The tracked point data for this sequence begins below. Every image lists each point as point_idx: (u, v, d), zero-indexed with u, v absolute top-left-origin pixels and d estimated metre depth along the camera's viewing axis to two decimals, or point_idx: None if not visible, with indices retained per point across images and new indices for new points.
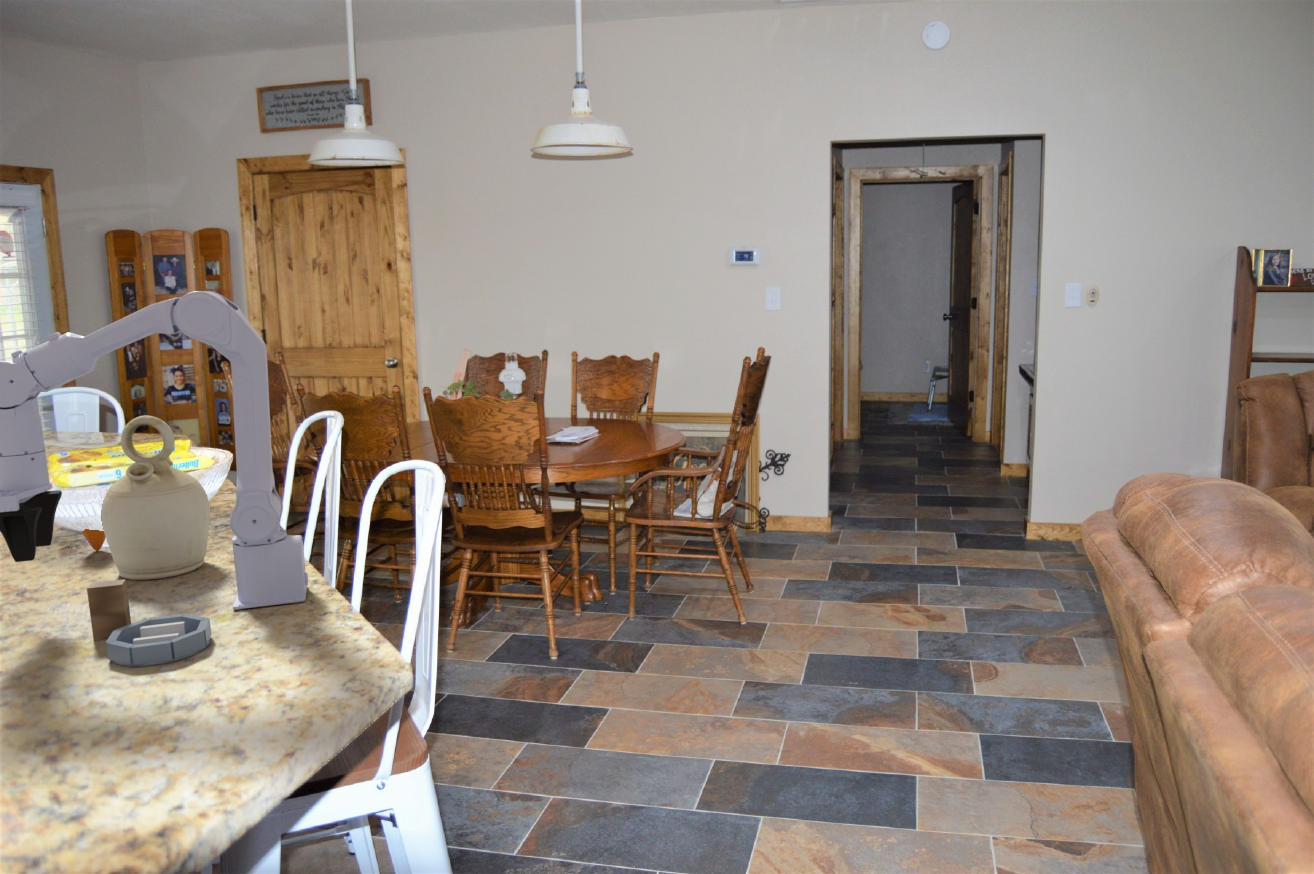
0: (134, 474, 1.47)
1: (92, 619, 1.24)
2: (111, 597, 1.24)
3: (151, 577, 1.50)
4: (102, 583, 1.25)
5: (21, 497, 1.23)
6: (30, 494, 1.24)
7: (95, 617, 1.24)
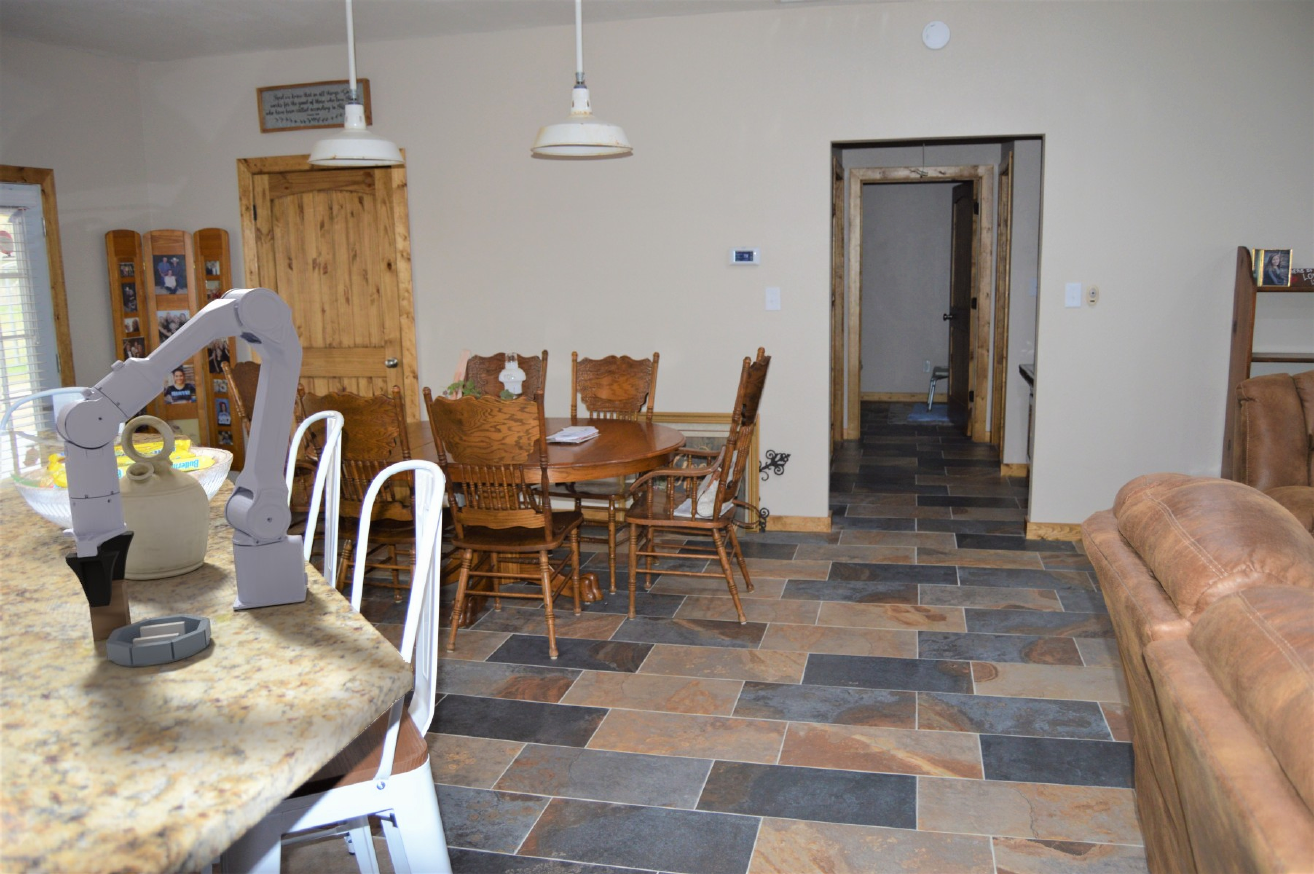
0: (134, 474, 1.47)
1: (92, 619, 1.24)
2: (111, 597, 1.24)
3: (151, 577, 1.50)
4: None
5: (99, 541, 1.19)
6: (107, 537, 1.21)
7: (95, 617, 1.24)
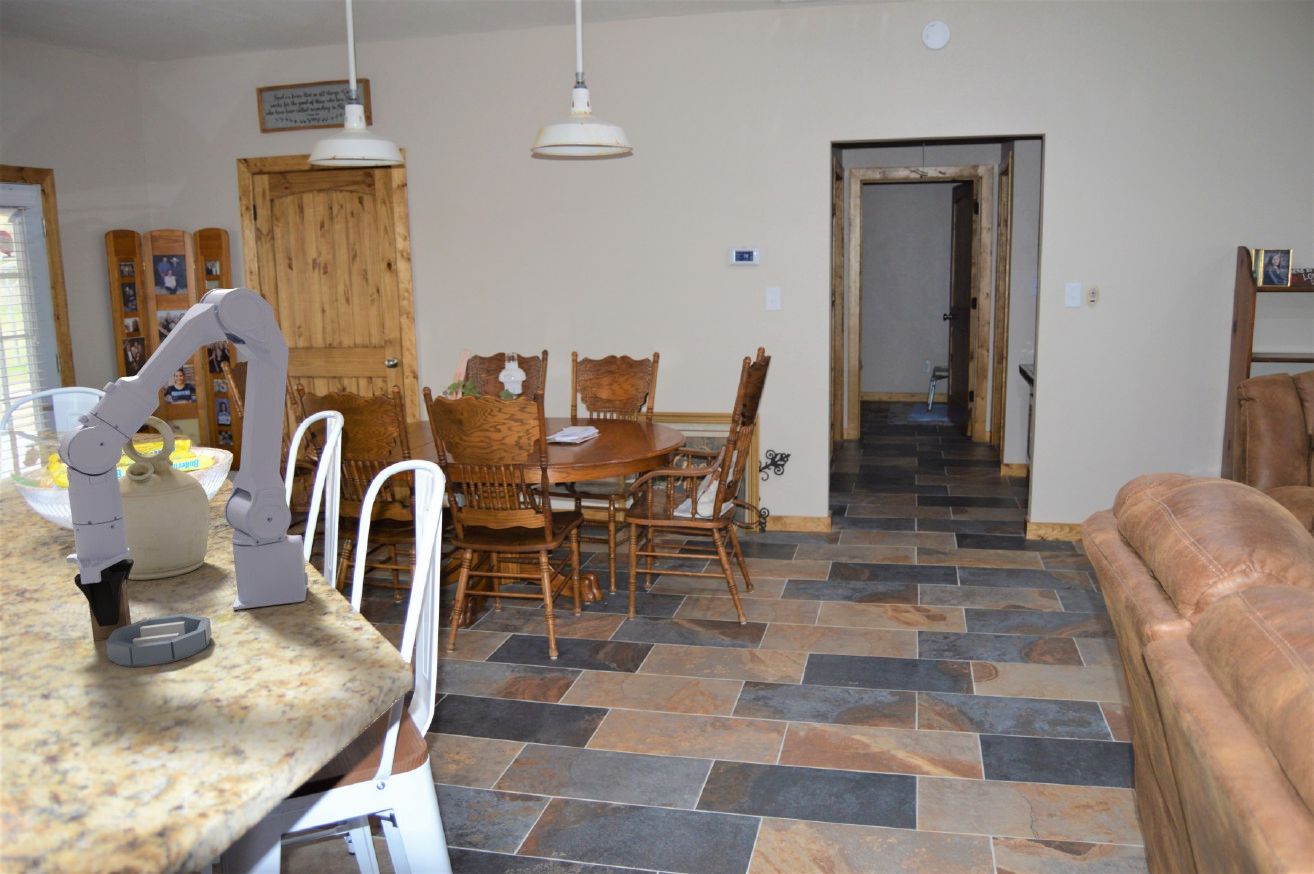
0: (134, 474, 1.47)
1: (92, 619, 1.24)
2: None
3: (151, 577, 1.50)
4: None
5: (102, 567, 1.19)
6: (111, 563, 1.21)
7: None
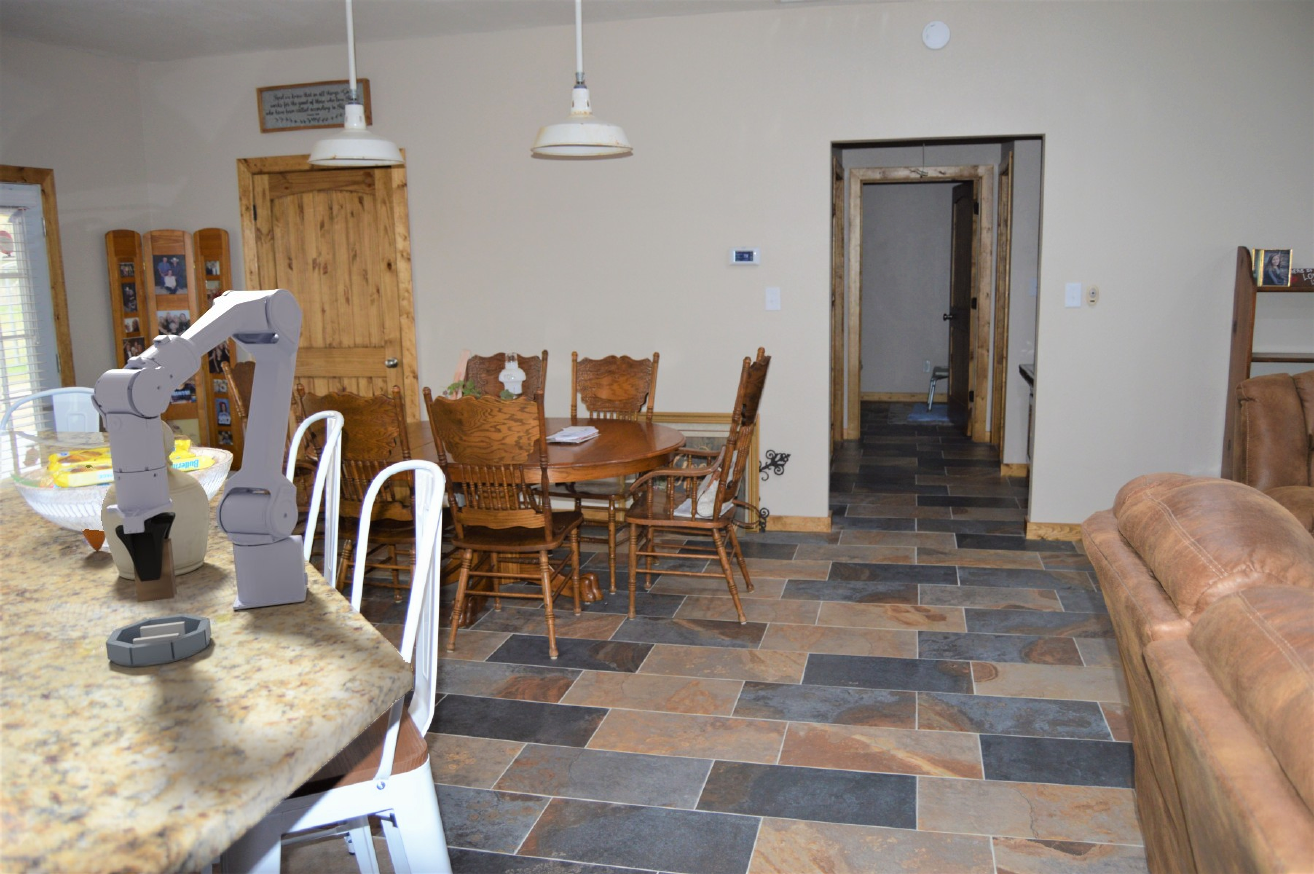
0: None
1: (136, 579, 1.18)
2: None
3: None
4: None
5: (146, 517, 1.13)
6: (154, 513, 1.15)
7: None
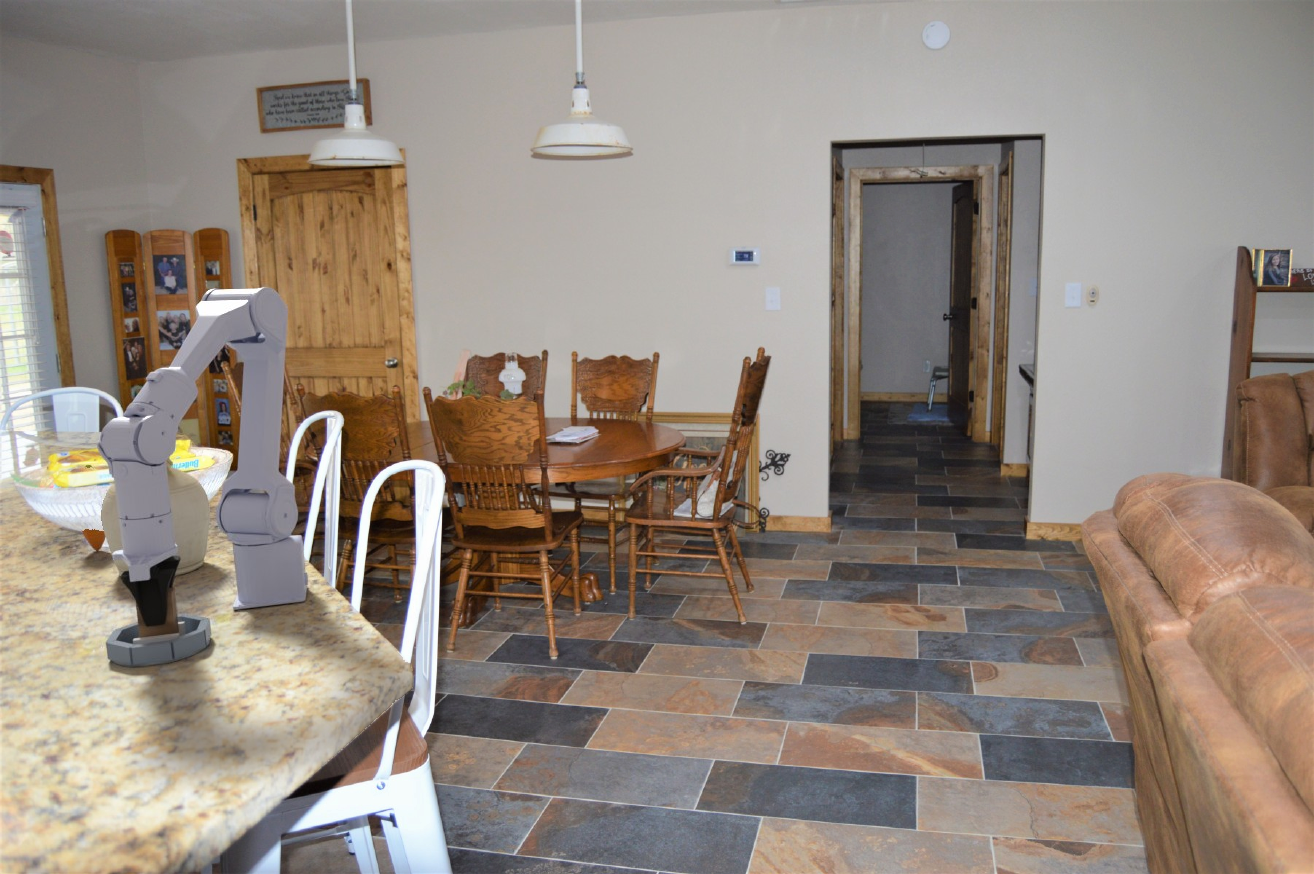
0: None
1: (140, 629, 1.19)
2: None
3: None
4: None
5: (152, 564, 1.14)
6: (159, 560, 1.15)
7: (143, 627, 1.19)
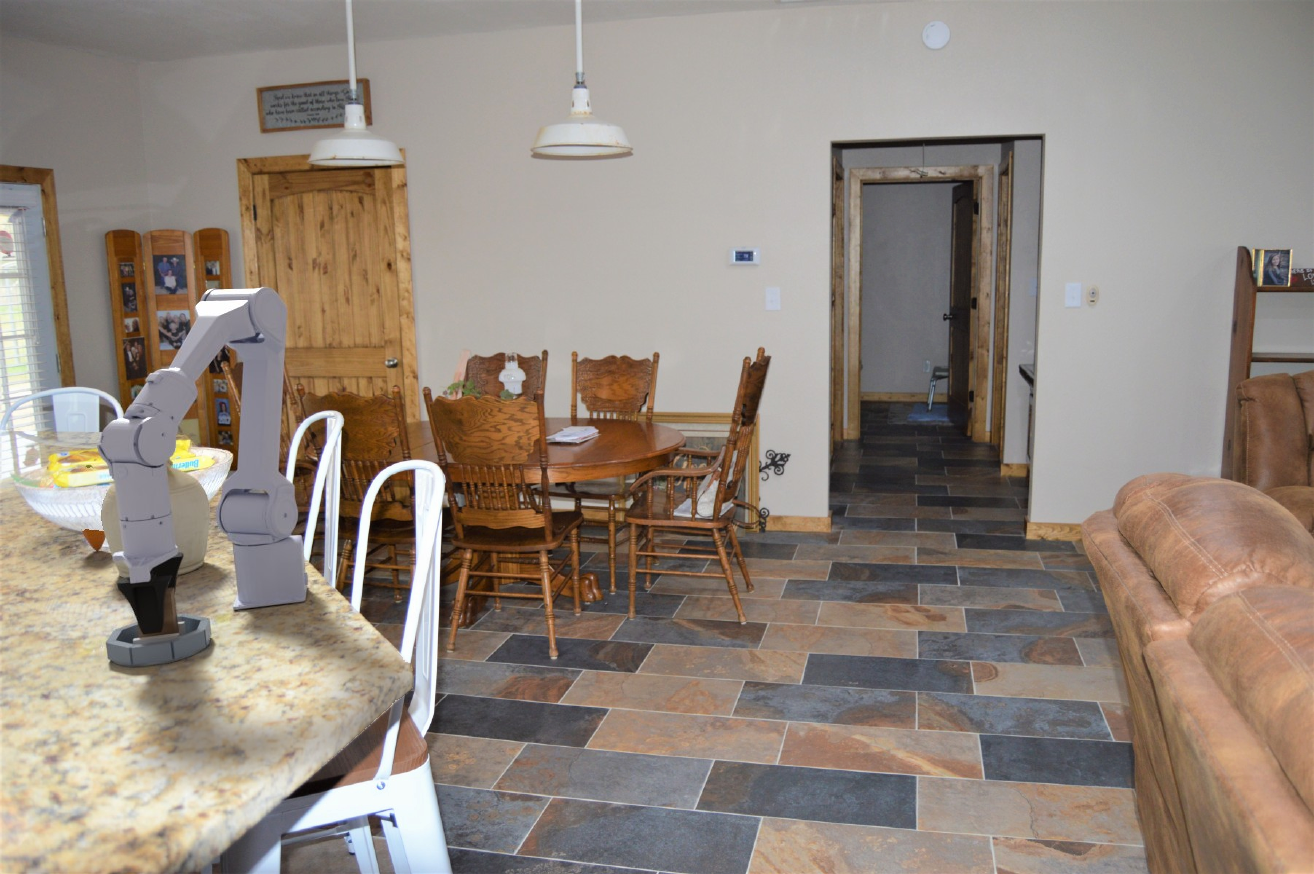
0: None
1: None
2: None
3: None
4: None
5: (152, 566, 1.14)
6: (160, 562, 1.15)
7: None
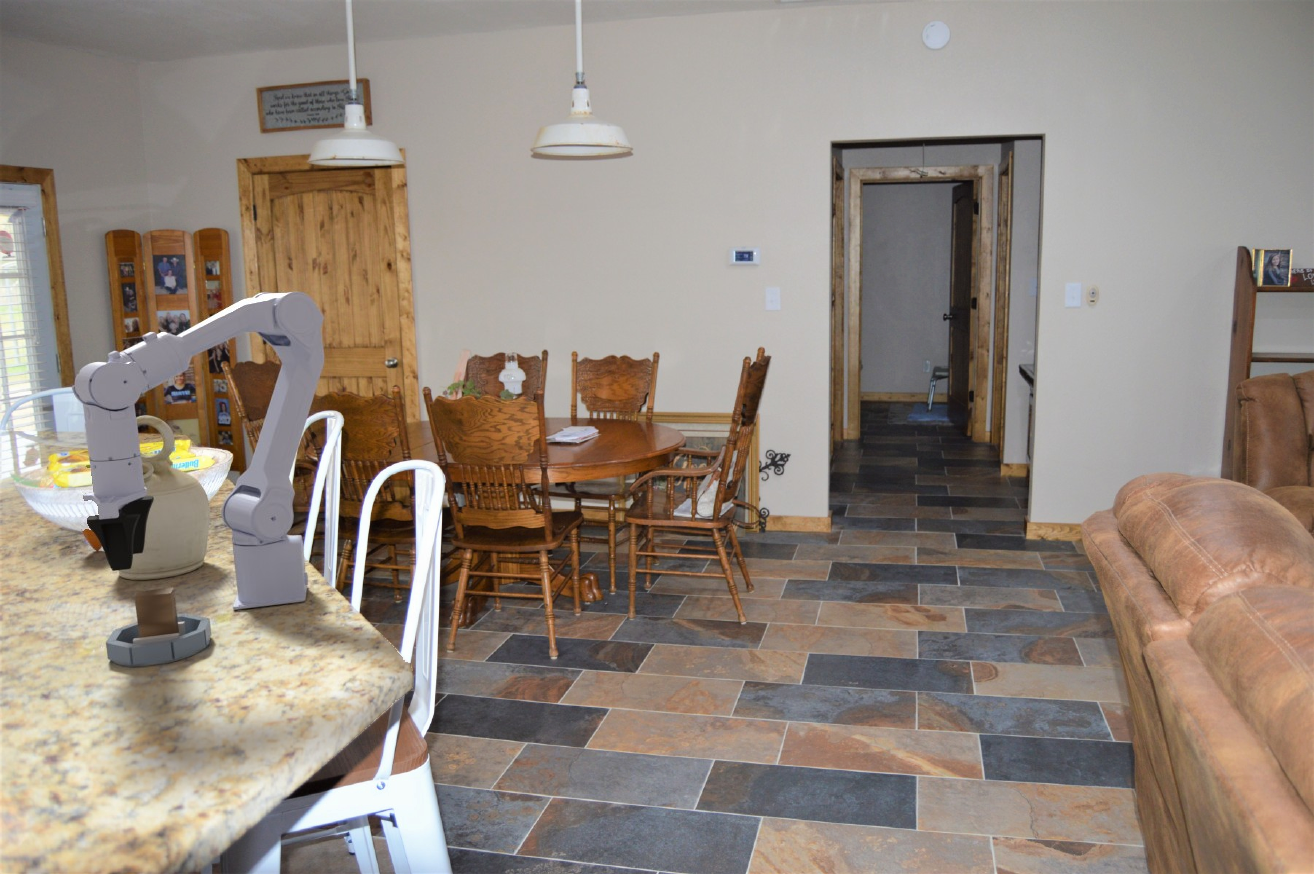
0: None
1: (140, 629, 1.19)
2: (160, 607, 1.19)
3: (151, 577, 1.50)
4: (150, 591, 1.20)
5: (120, 503, 1.18)
6: (128, 500, 1.20)
7: (143, 627, 1.19)
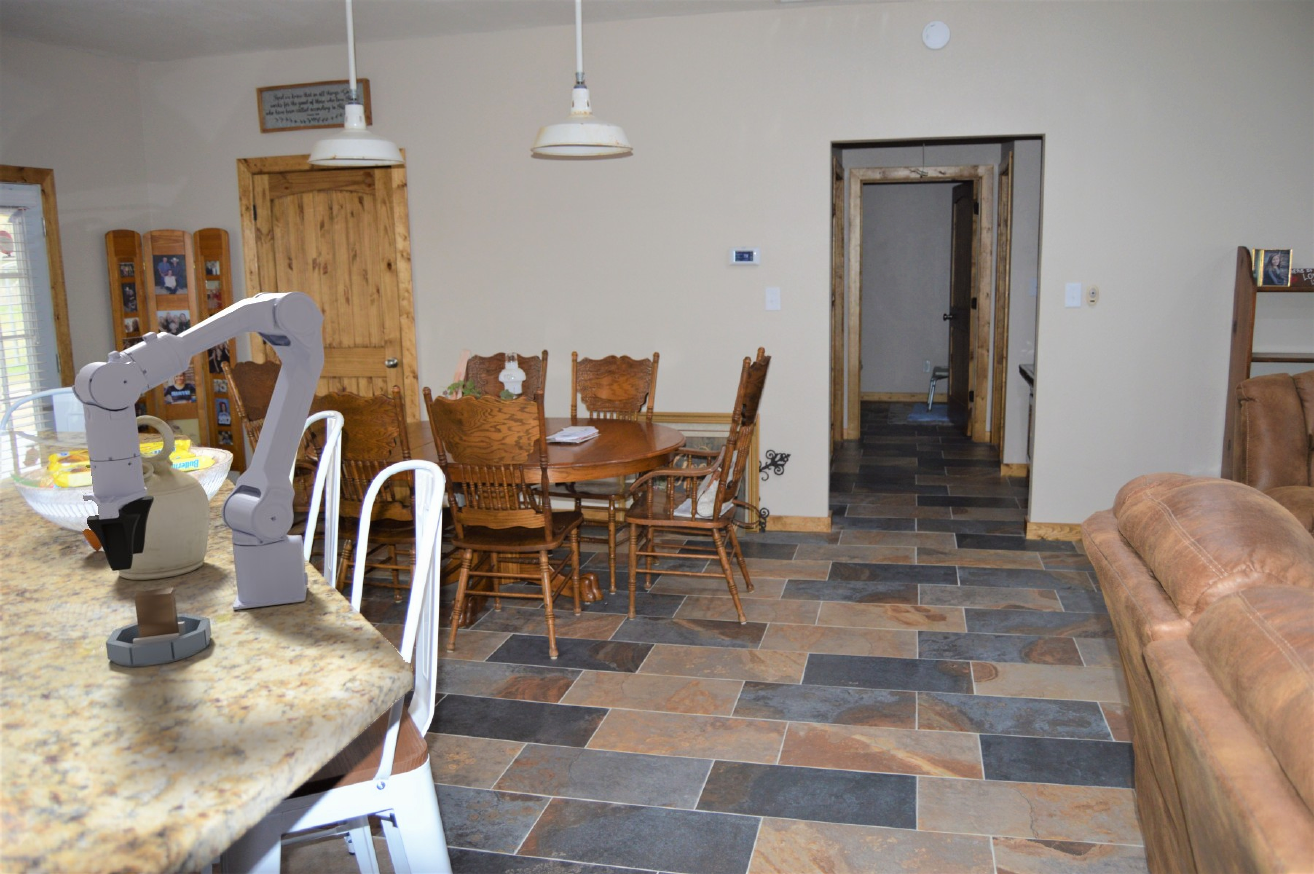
0: None
1: (140, 629, 1.19)
2: (160, 607, 1.19)
3: (151, 577, 1.50)
4: (150, 591, 1.20)
5: (120, 503, 1.18)
6: (128, 500, 1.20)
7: (143, 627, 1.19)
